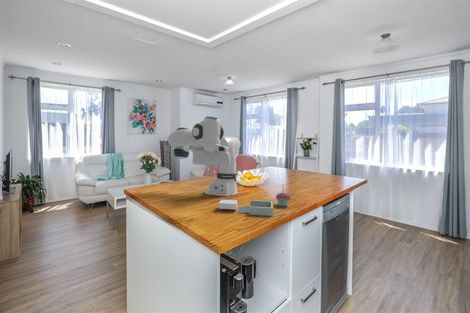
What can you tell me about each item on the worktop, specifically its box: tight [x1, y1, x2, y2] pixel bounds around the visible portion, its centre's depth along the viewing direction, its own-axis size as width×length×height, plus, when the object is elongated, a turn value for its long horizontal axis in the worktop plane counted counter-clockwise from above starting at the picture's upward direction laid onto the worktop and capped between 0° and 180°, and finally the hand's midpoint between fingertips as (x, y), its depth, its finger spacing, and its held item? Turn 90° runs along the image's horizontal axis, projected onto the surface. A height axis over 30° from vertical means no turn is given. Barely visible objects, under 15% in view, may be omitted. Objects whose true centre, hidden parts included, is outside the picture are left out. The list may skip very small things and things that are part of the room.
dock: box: [237, 199, 274, 217], centre depth 126 cm, size 18×13×5 cm
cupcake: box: [275, 184, 292, 207], centre depth 137 cm, size 9×8×12 cm
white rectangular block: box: [218, 199, 238, 212], centre depth 128 cm, size 9×7×4 cm
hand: (211, 173), depth 127 cm, fingers closed
